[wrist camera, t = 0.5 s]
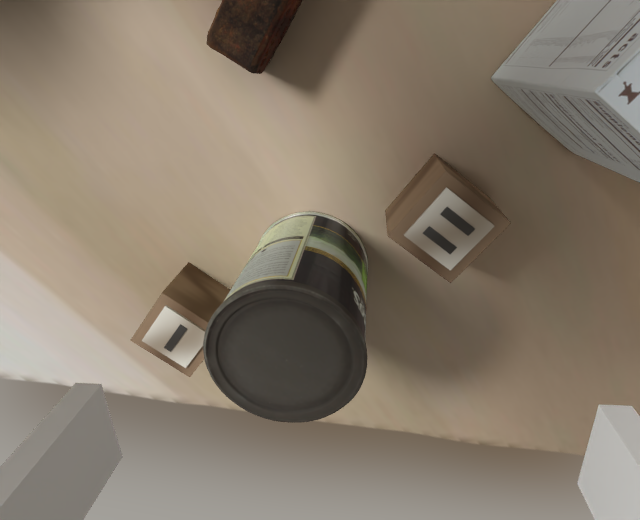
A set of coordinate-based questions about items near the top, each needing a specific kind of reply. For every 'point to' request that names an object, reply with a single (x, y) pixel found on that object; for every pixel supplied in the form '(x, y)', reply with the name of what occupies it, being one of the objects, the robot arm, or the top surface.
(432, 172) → the number block right
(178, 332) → the number block left
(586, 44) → the supplement box
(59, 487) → the robot arm
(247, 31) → the brick
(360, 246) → the coffee can
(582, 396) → the top surface
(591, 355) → the top surface
